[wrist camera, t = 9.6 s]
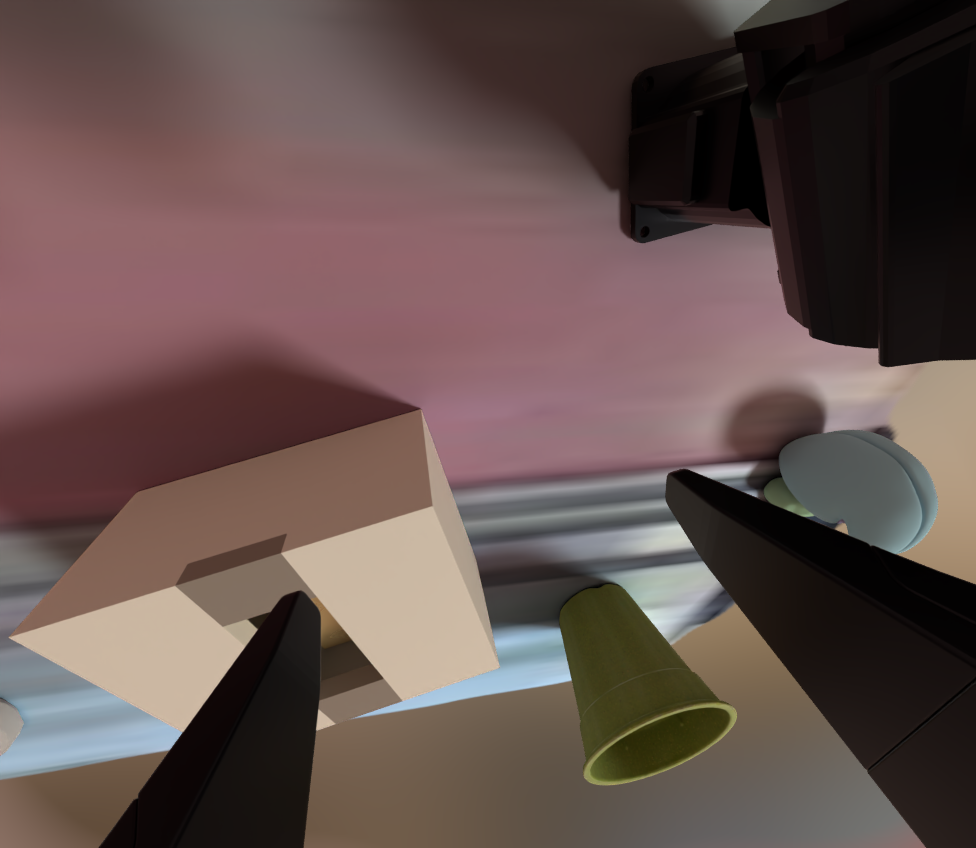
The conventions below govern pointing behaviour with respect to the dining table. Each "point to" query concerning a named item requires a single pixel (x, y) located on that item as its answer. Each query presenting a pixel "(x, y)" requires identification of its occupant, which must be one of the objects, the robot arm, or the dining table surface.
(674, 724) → the plant pot
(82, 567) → the box
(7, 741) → the cup
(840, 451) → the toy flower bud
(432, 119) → the dining table surface
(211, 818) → the robot arm
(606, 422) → the dining table surface
